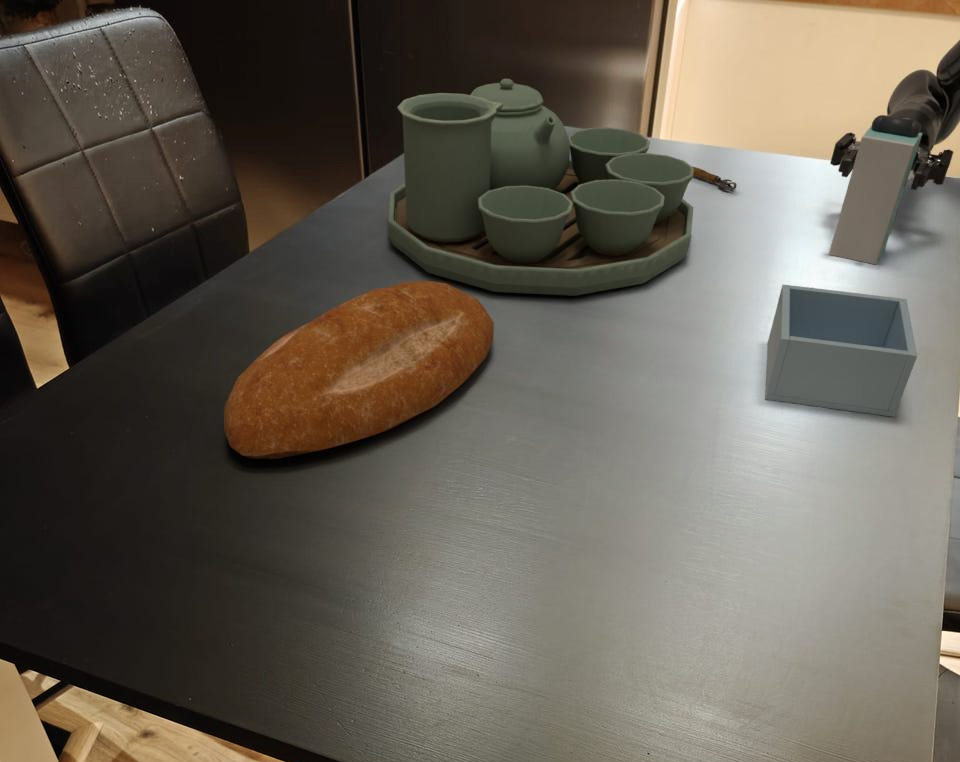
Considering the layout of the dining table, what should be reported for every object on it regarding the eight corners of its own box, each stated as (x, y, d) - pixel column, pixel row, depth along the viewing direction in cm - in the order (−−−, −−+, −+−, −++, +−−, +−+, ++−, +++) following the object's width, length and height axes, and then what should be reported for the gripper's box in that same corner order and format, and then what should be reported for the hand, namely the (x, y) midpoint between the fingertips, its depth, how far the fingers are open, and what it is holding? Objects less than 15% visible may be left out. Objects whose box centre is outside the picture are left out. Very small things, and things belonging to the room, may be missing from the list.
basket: (885, 357, 101) (906, 298, 97) (894, 417, 93) (917, 355, 88) (767, 342, 103) (782, 283, 99) (764, 399, 95) (781, 338, 90)
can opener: (687, 174, 141) (689, 166, 140) (698, 172, 142) (700, 163, 141) (730, 193, 135) (732, 185, 135) (742, 190, 136) (743, 182, 136)
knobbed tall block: (839, 239, 124) (876, 110, 113) (884, 249, 122) (927, 118, 111) (828, 254, 121) (866, 121, 110) (875, 264, 119) (918, 130, 108)
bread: (540, 350, 101) (545, 269, 95) (305, 501, 81) (293, 410, 74) (416, 303, 108) (414, 225, 102) (173, 431, 88) (152, 343, 82)
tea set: (609, 331, 104) (628, 174, 93) (326, 249, 119) (312, 104, 107) (736, 219, 129) (764, 84, 117) (488, 162, 143) (491, 37, 132)
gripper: (860, 99, 126) (832, 132, 116) (970, 117, 122) (951, 153, 111) (843, 159, 132) (815, 195, 121) (949, 178, 127) (928, 217, 117)
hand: (880, 175), depth 116 cm, fingers open, 8 cm apart
